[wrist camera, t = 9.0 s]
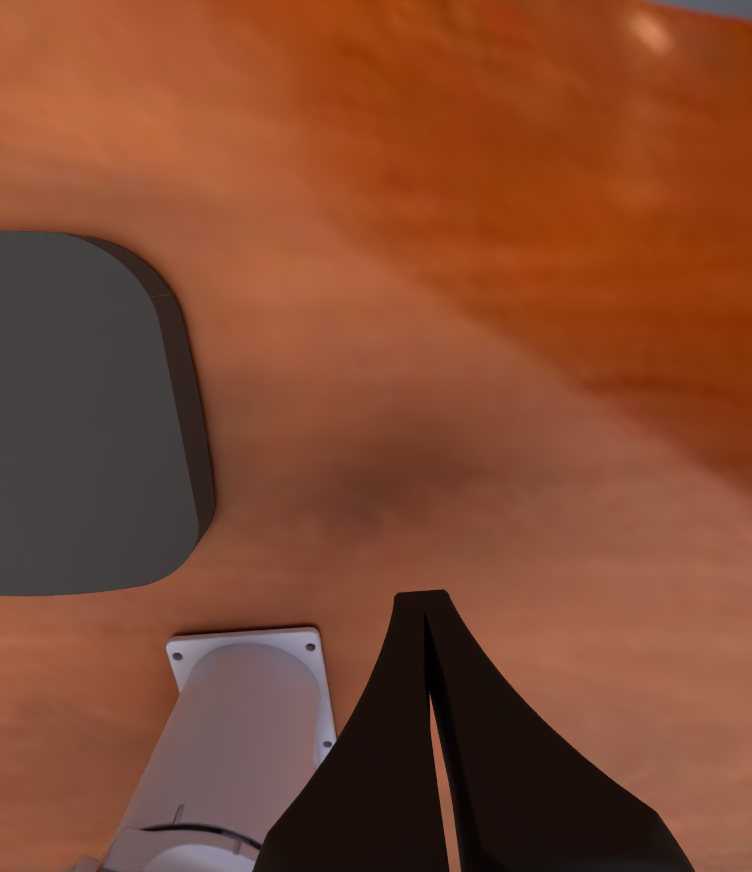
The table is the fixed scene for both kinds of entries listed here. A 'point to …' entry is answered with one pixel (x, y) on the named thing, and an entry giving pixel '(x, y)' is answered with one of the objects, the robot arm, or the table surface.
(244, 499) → the table surface
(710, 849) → the table surface
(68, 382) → the media streaming box
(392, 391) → the table surface
